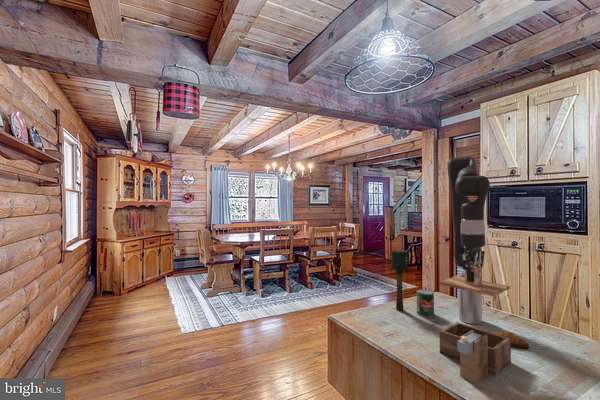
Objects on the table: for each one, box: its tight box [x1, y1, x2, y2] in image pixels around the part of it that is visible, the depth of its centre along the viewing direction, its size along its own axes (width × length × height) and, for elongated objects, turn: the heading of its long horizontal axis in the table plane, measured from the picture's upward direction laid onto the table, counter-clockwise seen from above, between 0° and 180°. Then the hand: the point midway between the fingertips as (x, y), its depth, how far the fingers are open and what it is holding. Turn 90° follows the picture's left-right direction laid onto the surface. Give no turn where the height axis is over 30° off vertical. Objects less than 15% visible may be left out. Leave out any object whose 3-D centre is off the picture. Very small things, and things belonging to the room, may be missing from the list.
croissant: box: [491, 330, 530, 349], centre depth 116 cm, size 14×7×5 cm, turn 47°
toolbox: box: [439, 321, 512, 384], centre depth 103 cm, size 22×18×12 cm
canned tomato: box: [416, 288, 435, 318], centre depth 147 cm, size 8×8×11 cm
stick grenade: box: [390, 249, 409, 312], centre depth 153 cm, size 8×9×30 cm
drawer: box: [457, 332, 482, 355], centre depth 94 cm, size 10×3×4 cm, turn 126°
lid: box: [438, 265, 510, 297], centre depth 106 cm, size 13×18×7 cm
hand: (473, 280), depth 106 cm, fingers closed on lid, 3 cm apart
